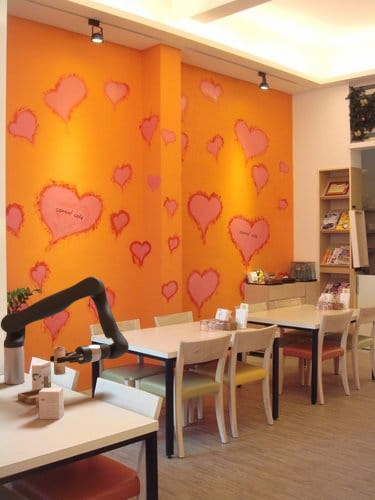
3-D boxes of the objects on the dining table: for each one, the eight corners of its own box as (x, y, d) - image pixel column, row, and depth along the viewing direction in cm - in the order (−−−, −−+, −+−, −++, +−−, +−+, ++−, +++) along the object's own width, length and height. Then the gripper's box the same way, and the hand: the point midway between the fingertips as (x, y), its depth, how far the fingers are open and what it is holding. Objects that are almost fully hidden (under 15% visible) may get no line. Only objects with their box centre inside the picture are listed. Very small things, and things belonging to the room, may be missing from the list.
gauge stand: (35, 406, 229) (35, 376, 229) (49, 403, 233) (48, 374, 233) (43, 409, 225) (43, 379, 225) (56, 406, 229) (56, 376, 229)
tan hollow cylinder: (52, 373, 236) (51, 347, 236) (61, 371, 239) (61, 345, 239) (57, 375, 233) (57, 348, 233) (67, 373, 236) (67, 347, 236)
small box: (64, 414, 217) (63, 387, 217) (59, 419, 212) (59, 391, 211) (44, 414, 218) (43, 387, 218) (38, 419, 212) (38, 391, 212)
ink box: (42, 386, 261) (42, 360, 261) (51, 386, 260) (51, 361, 260) (31, 390, 253) (31, 364, 253) (40, 391, 252) (40, 365, 252)
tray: (17, 399, 239) (17, 393, 239) (41, 394, 247) (41, 388, 247) (31, 404, 231) (31, 398, 231) (55, 399, 239) (55, 393, 239)
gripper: (78, 343, 251) (44, 348, 239) (97, 347, 241) (63, 353, 229) (78, 360, 251) (44, 366, 239) (97, 365, 241) (63, 371, 229)
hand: (53, 359), depth 234 cm, fingers closed on tan hollow cylinder, 4 cm apart
